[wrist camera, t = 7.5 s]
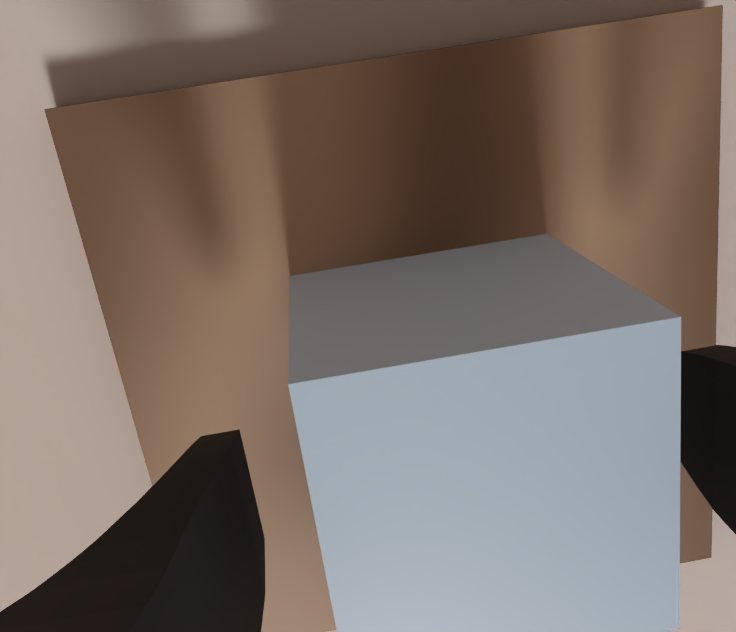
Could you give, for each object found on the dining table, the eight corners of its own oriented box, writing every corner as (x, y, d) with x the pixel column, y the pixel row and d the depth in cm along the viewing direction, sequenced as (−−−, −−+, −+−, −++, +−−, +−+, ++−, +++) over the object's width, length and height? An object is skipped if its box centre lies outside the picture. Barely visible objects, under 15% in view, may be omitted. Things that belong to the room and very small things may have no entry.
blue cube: (547, 233, 14) (681, 317, 9) (560, 458, 15) (679, 628, 11) (289, 275, 13) (288, 384, 9) (331, 499, 15) (348, 692, 10)
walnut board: (704, 7, 13) (722, 4, 13) (697, 541, 17) (711, 557, 17) (55, 107, 13) (44, 109, 12) (204, 635, 17) (201, 655, 16)
